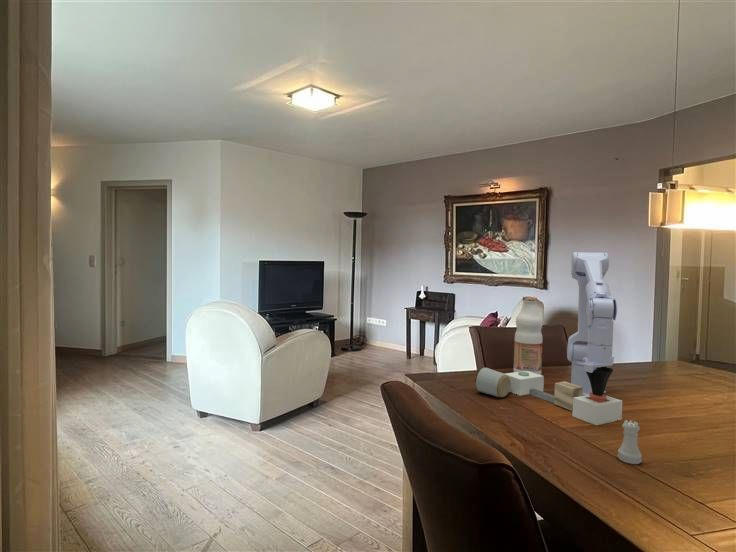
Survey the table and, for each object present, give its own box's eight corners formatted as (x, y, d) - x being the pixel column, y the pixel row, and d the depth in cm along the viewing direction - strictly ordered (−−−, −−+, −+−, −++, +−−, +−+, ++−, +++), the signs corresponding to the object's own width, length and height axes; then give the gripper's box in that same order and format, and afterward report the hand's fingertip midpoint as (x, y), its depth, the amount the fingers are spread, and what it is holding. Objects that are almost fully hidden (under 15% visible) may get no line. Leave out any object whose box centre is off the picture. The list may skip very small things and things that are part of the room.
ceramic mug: (498, 400, 128) (499, 374, 127) (474, 393, 134) (475, 369, 134) (517, 394, 135) (518, 369, 134) (494, 388, 141) (495, 364, 141)
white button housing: (597, 410, 121) (597, 393, 120) (621, 419, 114) (622, 400, 114) (572, 416, 116) (573, 397, 116) (596, 425, 110) (597, 405, 110)
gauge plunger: (595, 406, 118) (595, 391, 118) (609, 411, 114) (609, 395, 114) (585, 408, 116) (585, 393, 116) (599, 413, 112) (599, 397, 112)
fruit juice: (507, 372, 160) (510, 296, 158) (527, 370, 163) (530, 295, 162) (526, 379, 151) (529, 298, 150) (547, 376, 155) (550, 298, 154)
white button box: (526, 385, 143) (526, 368, 143) (543, 391, 137) (543, 374, 137) (503, 389, 139) (503, 371, 139) (519, 395, 133) (520, 377, 132)
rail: (534, 393, 135) (534, 388, 135) (586, 412, 119) (586, 407, 119) (530, 394, 134) (530, 389, 134) (581, 413, 118) (581, 408, 118)
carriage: (563, 402, 127) (564, 381, 126) (582, 408, 121) (582, 387, 121) (554, 404, 125) (554, 383, 125) (572, 410, 120) (573, 388, 119)
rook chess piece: (612, 455, 93) (613, 418, 93) (632, 455, 93) (633, 418, 93) (626, 465, 89) (628, 426, 88) (647, 465, 89) (649, 426, 89)
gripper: (595, 338, 122) (593, 386, 123) (572, 344, 112) (570, 396, 113) (622, 342, 117) (620, 392, 117) (601, 349, 107) (599, 403, 108)
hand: (597, 394), depth 115 cm, fingers closed, pressing on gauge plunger
